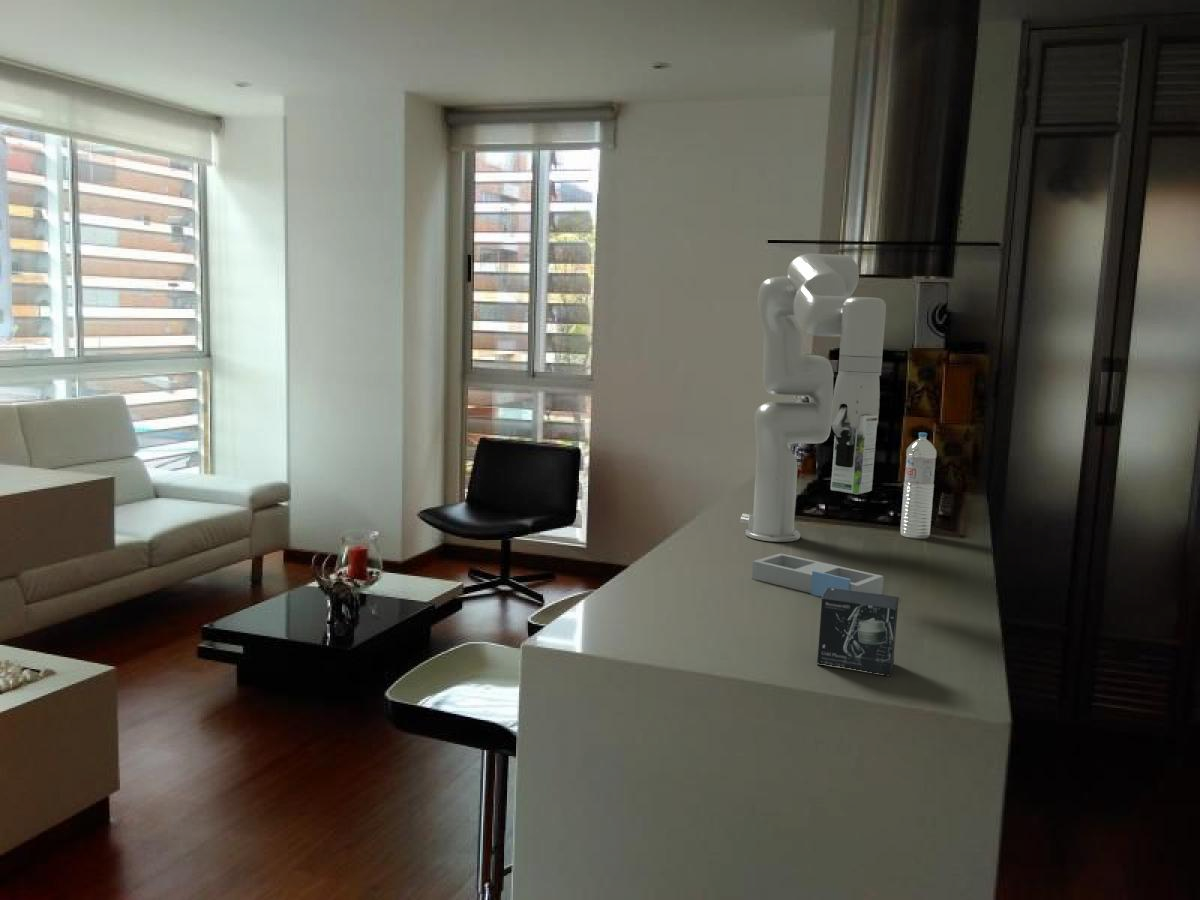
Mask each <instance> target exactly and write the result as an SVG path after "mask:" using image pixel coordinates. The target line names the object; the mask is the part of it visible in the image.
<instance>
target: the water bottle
mask: <svg viewBox="0 0 1200 900" xmlns="http://www.w3.org/2000/svg"><path fill="white" fill-rule="evenodd" d="M927 436H928V433H927V432H918V439H916V440H914V441H913V442H912V443H911V444H910V445H909V446H908V447H907V448H906V455H905V456H906V459H905V471H904V481H903V490H902V492H903V493H902V504H901V516H900V518H901V519H900V531H899V532H900V535H901V536H902V537H905V538H910V539H915V540H916V539H917V540H924V539H928V538H929V537H930V534H931V525H932V522H931V521H932V513H933V512H932V511H933V500H934V499H933V498H934V490H935V489H934V488H935V483H934V482H935V470H936V460H937V459H936V458H937V454H938V453H937V449H936V448H935V446H934V445H933V443H932V442H930V440H928V439H927Z"/></svg>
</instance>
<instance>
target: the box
mask: <svg viewBox="0 0 1200 900" xmlns="http://www.w3.org/2000/svg"><path fill="white" fill-rule="evenodd" d="M899 601H900V597H899V596H895V595H894V596H893V595H885V594H882V595H880V594H872V593H865V592H857V591H850V590H842V589H835V588H826V590H825V592H824V594H823V597H821V608H820V619H819V620H820V621H819V635H818V636H819V637H818V647H817V648H818V651H817V662H816V664H817V663H819V664H826V665H832V666H840V667H845V668H851V669H856V670H862V671H867V672H872V673H879V674H884V675H890V674H892V672H893V668H892V667H894V665H893V664H894V662H895V661H894V660H895V645H896V634H897V624H898V623H897V620H898V609H899ZM891 671H892V672H891ZM890 676H891V675H890Z"/></svg>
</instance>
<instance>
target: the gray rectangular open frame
mask: <svg viewBox="0 0 1200 900" xmlns="http://www.w3.org/2000/svg"><path fill="white" fill-rule="evenodd" d="M751 572H752V573H751V579H752V580H756V581H760V582H764V583H768V584H772V585H777V586H779V587H784V588H787V589H792V590H795V591H800V592H804V593H809V594H810V595H812V596H816V597H819V598H822V597H823V594H824V592H825V590H826V588H835V589H842V590H850V591H857V592H865V593H872V594H880V595H883V589H884V587H883V586H884V576H883V575H881V574H875V573H871V572H866V571H862V570H857V569H854V568H853V569H852V568H849V567H844V566H839V565H835V564H830V563H827V562H822V561H817V560H812V559H808V558H805V557H804V558H803V557H800V556H796V555H795V556H794V555H789V554H785V553H777V554H773V555H770V556H767V557H766V556H765V557H763V558H758V559H755V560H753V561H752V571H751Z"/></svg>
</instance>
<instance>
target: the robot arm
mask: <svg viewBox="0 0 1200 900" xmlns="http://www.w3.org/2000/svg"><path fill="white" fill-rule="evenodd" d="M859 279H860V271H859V267H858V264H857V262H856V261H855V260H854V259H853V258H852V257H851V256H849V255H846V254H845V255H844V254H833V253H832V254H830V253H804V254H801V255H798V256H797V257H795V258H794V259H793V260H792V261H791V262H790V264H789V266H788V268H787V275H786V276H785V275H783V276H782V275H781V276H773V277H769V278H767V279H764V281H763V282H762V283H761V285H760V287H759V290H758V295H757V306H758V314H759V318H760V321H761V326H762V330H763V360H762V361H763V362H762V384H763V388H764V391H765V392H766V393H768V394H770V395H774V396H781V397H782V396H785V397H807V398H808V402H804V401H803V402H800V401H799V402H796V401H769V402H764V403H763V404H760V406H758V408H757V409H756V411H755V413H754V418H753V419H754V432H755V444H756V450H755V451H756V457H755V478H754V494H753V495H754V496H753V510H752V511H753V512H752V514H751V513H742V515H741V516H740V518H739V521H740V523H743V524H744V523H745V524H748V527H747V528H746V529H745V535H746V537H749V538H751V539H753V540H759V541H763V542H773V543H774V542H775V543H784V542H785V543H788V542H794V541H795V542H796V541H798V540H799V539H800V538H801V533H800V532H799V531H798V530H796V529H794V527H795V514H796V501H797V500H796V497H797V480H798V460H797V457H796V456H795V454H794V453H793V451H792V450H791V449H790V448H789V445H790V444H805V445H807V444H809V445H810V444H815V445H816V444H823V443H824V442H826V441H828V438H829V437H830V434H831V431H833V434H834V438H835V437H836V444H837V449H836V465H837V466H842V467H849V468H850V467H852V466H853V456H854V445H852V442H853V438H854V434H855V430H856V429H858V428H859V424H860V419H861V416H862V415H866V414H876V415H877V414H878V417H879V416H880V415H879V414H880V399H881V397H880V396H881V394H880V391H881V390H880V386H881V385H880V376H882V368H883V367H882V366H883V354H884V353H883V352H884V351H883V350H884V339H885V326H886V315H887V311H886V310H887V305H886V302H885V300H884V299H883V298H880V297H870V296H869V297H868V296H863V297H862V296H853V294H854V292H855V291H856V289H857V286H858V284H859ZM792 316H794V318H795V320H794V318H792ZM798 325H799V326H798ZM800 328H801V329H802V331H804V332H805V333H806V334H808V335H811V336H815V337H840V341H839V355H838V356H839V357H838V372H837V373H838V374H837V375H836V379H835V384H834V370H833V367H832V364H831V362H830V360H829V359H828V358H826V357H825V356H821V355H817V354H815V355H814V354H803V353H802V352H803V351H802V346H803V345H802V344H803V343H802V342H803V334H802V331H801V329H800ZM844 425H849V426H850V427H843V426H844ZM878 425H879V418H878V419H877V426H878ZM846 432H849V435H848V436H847V433H846Z"/></svg>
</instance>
